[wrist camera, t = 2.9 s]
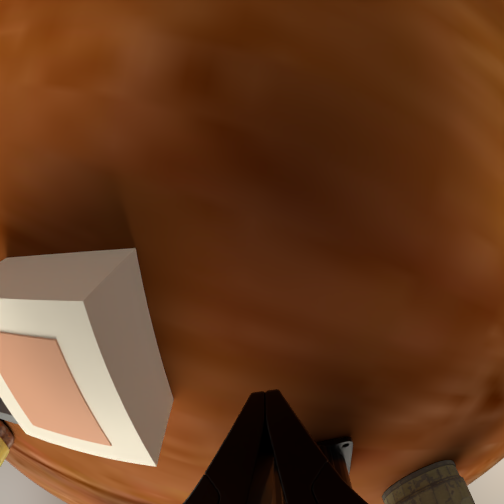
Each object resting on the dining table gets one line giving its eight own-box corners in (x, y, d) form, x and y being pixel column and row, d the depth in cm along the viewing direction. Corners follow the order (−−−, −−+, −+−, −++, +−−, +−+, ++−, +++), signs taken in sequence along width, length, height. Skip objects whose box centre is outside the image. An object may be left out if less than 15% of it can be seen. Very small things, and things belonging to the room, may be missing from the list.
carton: (174, 396, 16) (155, 468, 11) (58, 382, 16) (25, 434, 11) (137, 246, 13) (81, 302, 8) (9, 256, 13) (-51, 295, 8)
